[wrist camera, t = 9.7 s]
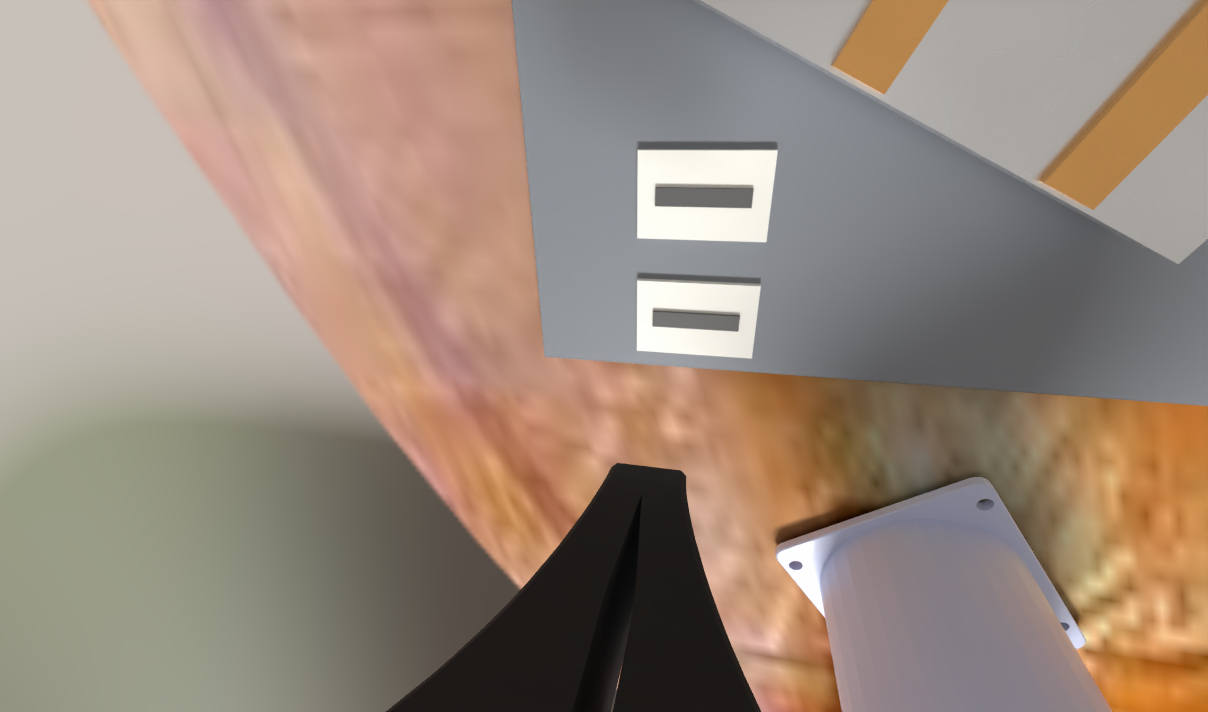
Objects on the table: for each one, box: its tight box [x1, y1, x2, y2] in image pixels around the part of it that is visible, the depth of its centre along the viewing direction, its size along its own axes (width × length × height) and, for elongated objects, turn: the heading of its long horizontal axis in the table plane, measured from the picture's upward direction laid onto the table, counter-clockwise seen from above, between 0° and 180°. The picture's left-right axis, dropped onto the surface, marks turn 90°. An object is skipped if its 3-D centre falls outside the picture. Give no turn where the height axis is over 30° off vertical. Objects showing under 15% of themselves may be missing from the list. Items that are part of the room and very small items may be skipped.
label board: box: [512, 0, 1208, 406], centre depth 13 cm, size 20×14×1 cm
